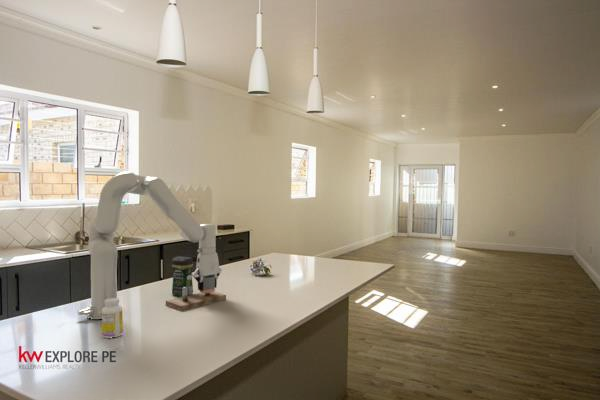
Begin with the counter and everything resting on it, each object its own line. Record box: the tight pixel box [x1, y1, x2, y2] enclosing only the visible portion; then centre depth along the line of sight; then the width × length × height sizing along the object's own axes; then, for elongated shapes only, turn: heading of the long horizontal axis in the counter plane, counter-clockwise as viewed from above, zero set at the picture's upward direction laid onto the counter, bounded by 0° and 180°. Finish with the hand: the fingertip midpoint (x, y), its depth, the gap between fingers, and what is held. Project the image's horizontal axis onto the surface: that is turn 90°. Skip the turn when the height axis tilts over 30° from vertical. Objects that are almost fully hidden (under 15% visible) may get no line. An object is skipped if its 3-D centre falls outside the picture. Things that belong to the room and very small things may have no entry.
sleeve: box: [199, 275, 216, 293], centre depth 190 cm, size 7×7×7 cm
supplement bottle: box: [101, 297, 124, 339], centre depth 144 cm, size 7×7×13 cm
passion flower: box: [247, 257, 273, 277], centre depth 244 cm, size 11×11×12 cm
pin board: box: [165, 291, 227, 312], centre depth 186 cm, size 24×12×2 cm, turn 139°
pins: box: [181, 287, 210, 301], centre depth 186 cm, size 14×2×6 cm, turn 139°
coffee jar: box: [171, 256, 194, 297], centre depth 199 cm, size 10×8×19 cm
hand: (207, 288), depth 190 cm, fingers closed on sleeve, 6 cm apart
